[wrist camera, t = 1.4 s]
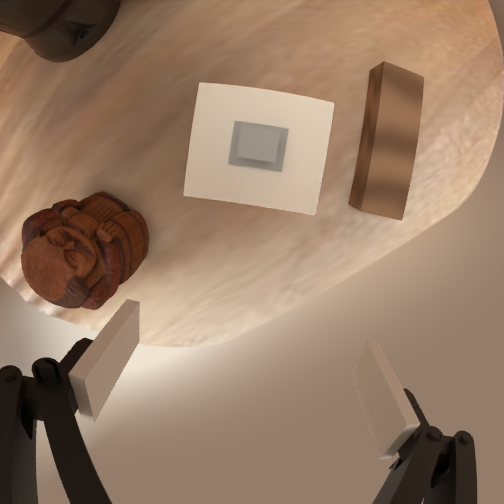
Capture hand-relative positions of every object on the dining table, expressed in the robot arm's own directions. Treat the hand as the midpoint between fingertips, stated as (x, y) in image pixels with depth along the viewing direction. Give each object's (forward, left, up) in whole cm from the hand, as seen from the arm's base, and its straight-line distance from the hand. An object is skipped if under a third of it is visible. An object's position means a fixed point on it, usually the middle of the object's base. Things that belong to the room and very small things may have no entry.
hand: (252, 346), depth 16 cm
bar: (-15, +14, -23) cm, 30 cm away
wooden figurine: (+1, -18, -23) cm, 29 cm away
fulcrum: (-11, -1, -22) cm, 25 cm away
